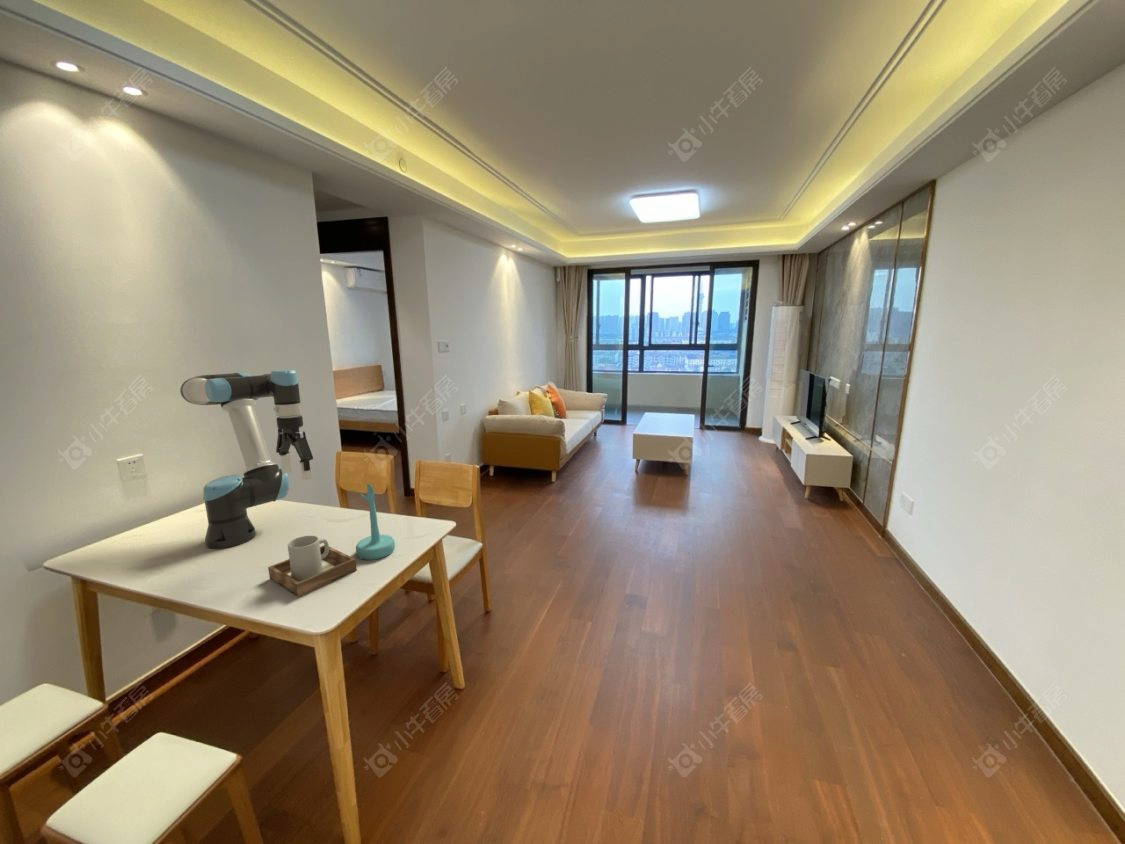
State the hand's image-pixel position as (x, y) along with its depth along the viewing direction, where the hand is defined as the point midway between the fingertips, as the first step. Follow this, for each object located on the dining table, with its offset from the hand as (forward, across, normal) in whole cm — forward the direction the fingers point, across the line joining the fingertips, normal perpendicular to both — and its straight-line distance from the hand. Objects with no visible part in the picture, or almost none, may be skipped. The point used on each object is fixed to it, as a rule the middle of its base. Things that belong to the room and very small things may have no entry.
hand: (296, 476), depth 154 cm
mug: (+26, +21, -8) cm, 34 cm away
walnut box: (+27, +21, -8) cm, 35 cm away
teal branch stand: (+27, +24, +12) cm, 38 cm away
